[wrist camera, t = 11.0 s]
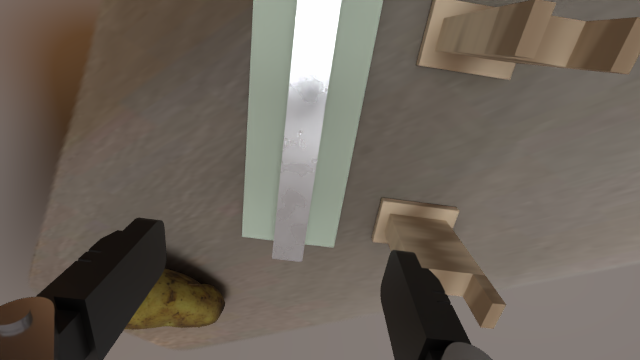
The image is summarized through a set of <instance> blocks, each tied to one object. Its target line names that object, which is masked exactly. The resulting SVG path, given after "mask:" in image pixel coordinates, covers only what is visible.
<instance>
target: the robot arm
mask: <svg viewBox="0 0 640 360" xmlns="http://www.w3.org/2000/svg"><path fill="white" fill-rule="evenodd" d="M166 259H167V255H166V242H165V229H164V223H163V221H161V220H153V219H145V218H136V219H135V220H134V221H133V222H132V223H131V224H129V225H128V226H127V227H126V228H125V229H124V230H123V231H119V230H117V231H115V232H113V233H111V234H109V235H107V236H105V237H103V238H101V239H100V240H99V241H98V242H97V243H96V244H94V245H93V246H92V247H91V248H90V249H89V251H88V252H85V253H84V254H83V255H82V256H81V257H80V258H79V260H78V261H75V262H74V263H73V264H72V265H71V266H70V267H69V268H67V269H66V270H65V271H64V272H63V273H62V274H61V275H60V276H58V277H57V278H56V279H55V280H54V281H53V282H52V283H50V284H49V285H48V286H47V287H46V288H45V289H44V290H43V291H41V292H40V293H39V294H38V295H37V296H36V297H26V298H21V299H17V300H14V301H11V302H8V303H6V304H3V305H1V306H0V360H103V359H104V357H105V356H106V355H107V353H108V352H109V350H110V349H111V347H112V346H113V345H114V343H115V341H116V340H117V339H118V337H119V336H120V334H121V333H122V331H123V330H124V329H125V327H126V326H127V324H128V323H129V321H130V320H131V318H132V317H133V316H134V314H135V313H136V311H137V310H138V308H139V307H140V305H141V304H142V303H143V301H144V300H145V298H146V297H147V295H148V294H149V292H150V291H151V289H152V288H153V287H154V285H155V284H156V282H157V281H158V279H159V278H160V276H161V275H162V273H163V271H164V268H165V265H166ZM381 302H382V307H383V311H384V315H385V320H386V324H387V328H388V333H389V337H390V341H391V346H392V350H393V354H394V358H395V360H492V359H491V358H490V357H489V356H488V355H487V354H486V353H484V352H483V351H482V350H480V349H479V348H477V347H475V346H473V345H471V343H470V341H469V339H468V337H467V335H466V333H465V330H464V329H463V327H462V325H461V323H460V320H459V318H458V316H457V314H456V312H455V310H454V308H453V306H452V305H450V300H449V298H448V296H447V294H445V290H444V288H443V286H442V284H441V282H440V280H439V279H438V278H437V277H436V276H435V275H434V274H433V273H432V272H431V271H430V270H429V269H428V268H422V267H421V265H420V263H419V260H418V258H417V256H416V254H415V253H414V252H408V251H399V250H392V251H391V253H390V256H389V259H388V263H387V266H386V270H385V273H384V276H383V280H382V283H381Z"/></svg>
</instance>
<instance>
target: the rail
mask: <svg viewBox="0 0 640 360" xmlns="http://www.w3.org/2000/svg"><path fill="white" fill-rule="evenodd" d="M340 6H341V0H298V2H297V12H296V22H295V32H294V42H293V52H292V62H291V72H290V82H289V92H288V102H287V112H286V122H285V132H284V142H283V152H282V163H281V173H280V183H279V193H278V203H277V213H276V223H275V233H274V243H273V253H272V259H281V260H290V261H298V262H302V258H303V252H304V245H305V238H306V232H307V225H308V218H309V212H310V205H311V199H312V192H313V185H314V179H315V172H316V165H317V159H318V152H319V145H320V139H321V132H322V125H323V119H324V112H325V105H326V99H327V92H328V86H329V79H330V72H331V66H332V59H333V52H334V46H335V39H336V32H337V26H338V19H339V12H340Z"/></svg>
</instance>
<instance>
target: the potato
mask: <svg viewBox="0 0 640 360" xmlns="http://www.w3.org/2000/svg"><path fill="white" fill-rule="evenodd" d="M224 306H225V302H224V298H223V296H222V295H221V293H220V292H219V291H218V290H217V289H216V288H215V287H214V286H212V285H209V284H200V283H199V282H197V281H196V280H194V279H193V278H191V277H189V276H187V275H185V274H182V273H179V272H176V271H173V270H169V269H164V271H163V273H162V275H161V276H160V278H159V279H158V281H157V282H156V284H155V285H154V287H153V288H152V289H151V291H150V292H149V294H148V295H147V297H146V298H145V300H144V301H143V303H142V304H141V305H140V307H139V308H138V310H137V311H136V313H135V314H134V316H133V317H132V318H131V320H130V321H129V323H128V324H127V326H126V327H125V329H132V330H133V329H147V328H156V327H162V326H172V327H180V328H186V327H202V326H207V325H210V324H213V323H215V322H216V321H217V320H218V318H219V316H220V315H221V313H222V311H223V309H224Z"/></svg>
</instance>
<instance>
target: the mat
mask: <svg viewBox="0 0 640 360" xmlns="http://www.w3.org/2000/svg"><path fill="white" fill-rule="evenodd" d="M297 2H298V0H254V1H253V21H252V42H251V62H250V82H249V103H248V123H247V143H246V164H245V184H244V204H243V225H242V237H249V238H258V239H266V240H274V233H275V223H276V213H277V203H278V193H279V183H280V173H281V163H282V152H283V142H284V132H285V122H286V112H287V102H288V92H289V82H290V72H291V62H292V52H293V42H294V32H295V22H296V12H297ZM382 4H383V0H341V6H340V12H339V19H338V26H337V32H336V39H335V46H334V52H333V59H332V66H331V72H330V79H329V86H328V92H327V99H326V105H325V112H324V119H323V125H322V132H321V139H320V145H319V152H318V159H317V165H316V172H315V179H314V185H313V192H312V199H311V205H310V212H309V218H308V225H307V232H306V238H305V244H308V245H316V246H325V247H333V248H334V244H335V239H336V234H337V229H338V224H339V219H340V214H341V209H342V204H343V199H344V194H345V189H346V184H347V179H348V174H349V169H350V164H351V159H352V154H353V149H354V144H355V139H356V134H357V129H358V124H359V119H360V114H361V109H362V104H363V99H364V94H365V89H366V84H367V79H368V74H369V69H370V64H371V59H372V54H373V49H374V44H375V39H376V34H377V29H378V24H379V19H380V14H381V9H382Z"/></svg>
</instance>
